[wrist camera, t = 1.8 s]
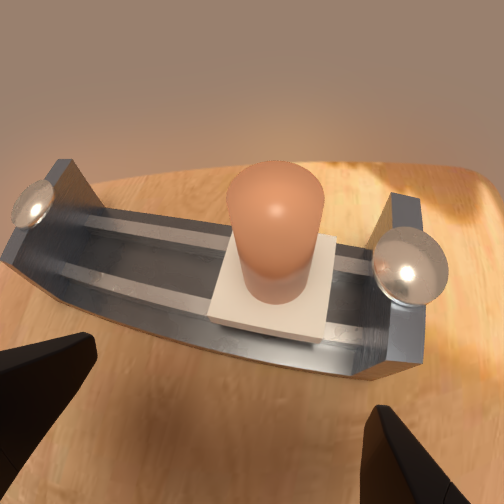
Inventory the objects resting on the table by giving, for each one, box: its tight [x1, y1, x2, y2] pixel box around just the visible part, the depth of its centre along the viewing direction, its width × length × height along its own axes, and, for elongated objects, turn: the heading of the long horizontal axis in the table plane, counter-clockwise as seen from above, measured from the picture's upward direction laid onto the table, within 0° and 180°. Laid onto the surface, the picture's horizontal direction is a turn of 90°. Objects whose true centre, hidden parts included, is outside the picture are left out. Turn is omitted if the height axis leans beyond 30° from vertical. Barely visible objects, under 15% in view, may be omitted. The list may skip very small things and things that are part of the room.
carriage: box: [207, 161, 337, 344], centre depth 16 cm, size 7×7×9 cm
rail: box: [0, 159, 448, 381], centre depth 20 cm, size 30×10×9 cm, turn 77°
